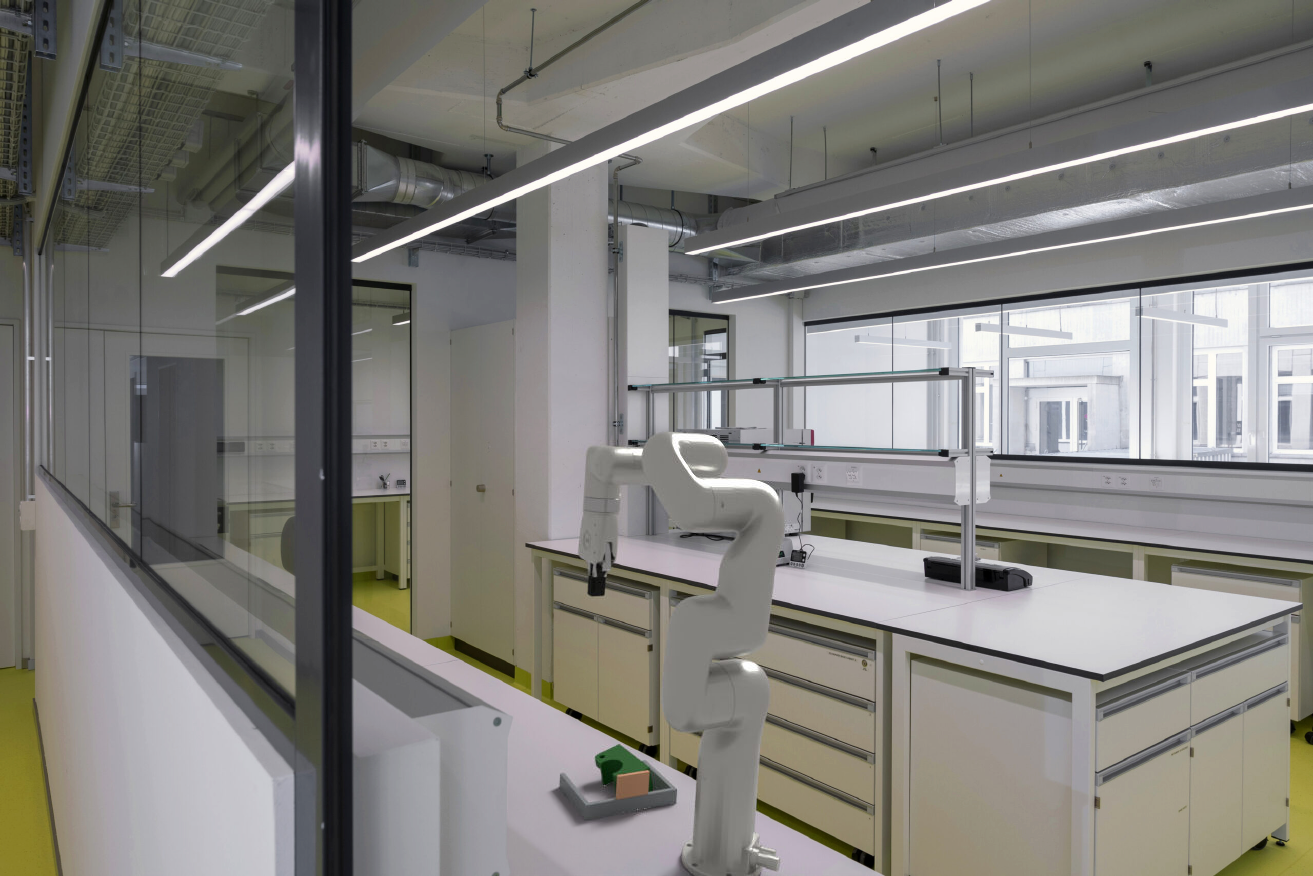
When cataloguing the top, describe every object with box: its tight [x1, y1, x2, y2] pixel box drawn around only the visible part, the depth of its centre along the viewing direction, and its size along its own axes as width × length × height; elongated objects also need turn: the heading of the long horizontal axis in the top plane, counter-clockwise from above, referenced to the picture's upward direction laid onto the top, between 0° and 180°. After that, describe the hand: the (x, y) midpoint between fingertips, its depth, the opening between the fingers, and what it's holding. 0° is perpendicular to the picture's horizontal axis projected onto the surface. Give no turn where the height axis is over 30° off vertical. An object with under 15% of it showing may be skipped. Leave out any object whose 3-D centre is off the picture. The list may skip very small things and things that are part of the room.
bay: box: [558, 759, 678, 821], centre depth 142 cm, size 13×18×6 cm
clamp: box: [594, 743, 654, 794], centre depth 144 cm, size 12×6×9 cm, turn 28°
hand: (595, 595), depth 159 cm, fingers closed
